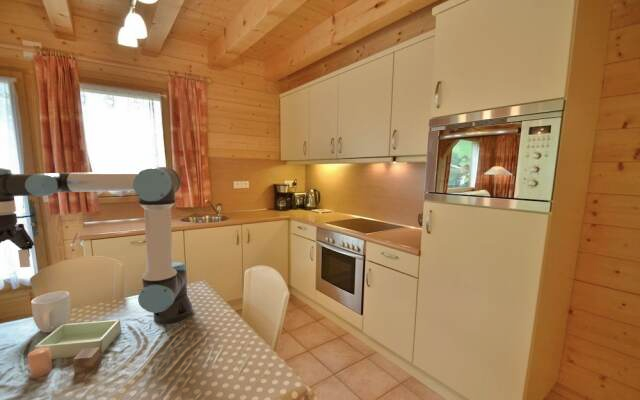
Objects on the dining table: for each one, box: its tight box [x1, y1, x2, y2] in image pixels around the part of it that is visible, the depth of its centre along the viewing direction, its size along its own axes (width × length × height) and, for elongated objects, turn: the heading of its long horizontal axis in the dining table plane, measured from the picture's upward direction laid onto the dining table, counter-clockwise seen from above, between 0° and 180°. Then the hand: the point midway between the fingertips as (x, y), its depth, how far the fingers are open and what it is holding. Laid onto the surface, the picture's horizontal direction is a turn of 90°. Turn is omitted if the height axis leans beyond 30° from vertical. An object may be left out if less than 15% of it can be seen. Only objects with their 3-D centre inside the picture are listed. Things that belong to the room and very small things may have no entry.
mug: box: [30, 290, 71, 333], centre depth 110 cm, size 15×11×13 cm
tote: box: [33, 319, 122, 360], centre depth 102 cm, size 20×14×5 cm
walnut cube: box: [72, 347, 102, 374], centre depth 91 cm, size 5×5×5 cm
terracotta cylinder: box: [27, 347, 53, 379], centre depth 89 cm, size 5×5×7 cm
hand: (7, 273), depth 98 cm, fingers open, 13 cm apart
